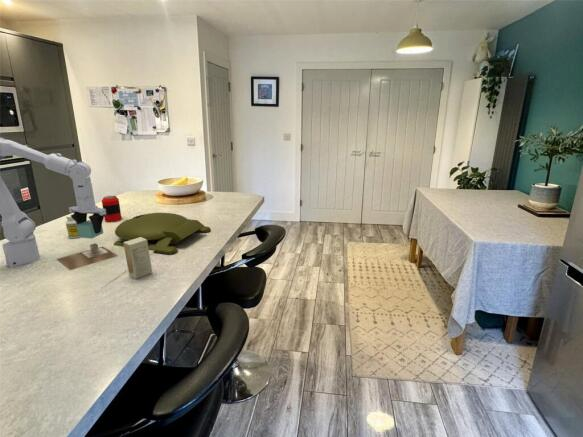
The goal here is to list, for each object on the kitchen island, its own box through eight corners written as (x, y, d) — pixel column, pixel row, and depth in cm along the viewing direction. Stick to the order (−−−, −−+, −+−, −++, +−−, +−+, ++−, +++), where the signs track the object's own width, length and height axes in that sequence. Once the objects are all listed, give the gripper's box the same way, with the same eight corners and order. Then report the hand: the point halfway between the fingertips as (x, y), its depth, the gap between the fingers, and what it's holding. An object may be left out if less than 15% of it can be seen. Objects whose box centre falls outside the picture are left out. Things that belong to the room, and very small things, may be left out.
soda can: (121, 221, 169) (117, 198, 165) (104, 223, 166) (100, 199, 163) (122, 217, 175) (118, 194, 172) (106, 218, 173) (102, 196, 169)
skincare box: (146, 269, 117) (141, 236, 114) (152, 272, 115) (148, 239, 111) (127, 275, 112) (122, 241, 109) (134, 279, 110) (129, 244, 106)
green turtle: (213, 231, 157) (211, 210, 154) (172, 256, 129) (170, 232, 126) (149, 224, 166) (147, 204, 163) (99, 246, 138) (95, 223, 135)
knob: (91, 238, 123) (89, 225, 121) (79, 237, 124) (76, 224, 123) (103, 233, 128) (101, 220, 126) (91, 231, 129) (88, 219, 128)
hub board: (70, 272, 114) (68, 261, 113) (57, 261, 123) (54, 250, 122) (118, 258, 126) (116, 247, 125) (103, 248, 135) (101, 238, 133)
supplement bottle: (82, 233, 152) (78, 213, 149) (83, 237, 147) (79, 216, 145) (68, 235, 149) (64, 215, 146) (68, 239, 145) (64, 218, 142)
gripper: (109, 195, 124) (115, 230, 128) (77, 192, 127) (84, 227, 131) (94, 199, 117) (101, 236, 121) (61, 197, 121) (68, 232, 125)
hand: (91, 232), depth 126 cm, fingers closed on knob, 6 cm apart
